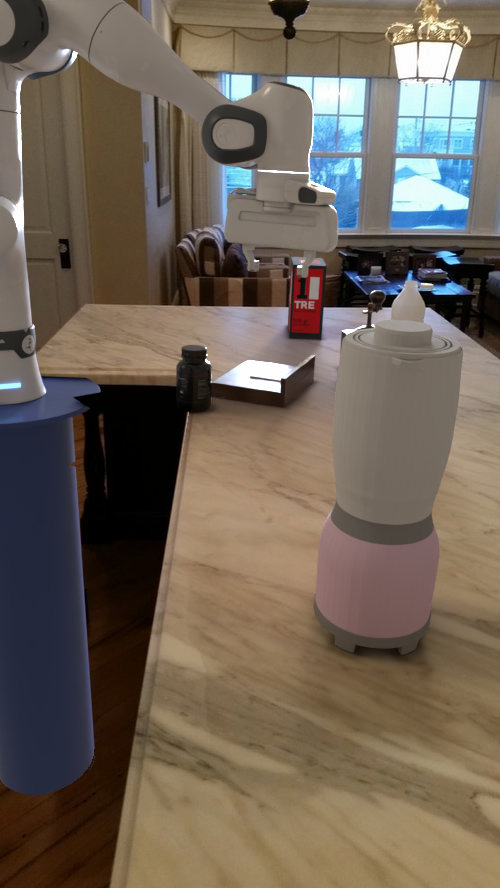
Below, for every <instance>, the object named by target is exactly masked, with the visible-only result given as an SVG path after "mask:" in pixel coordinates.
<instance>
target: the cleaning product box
mask: <svg viewBox="0 0 500 888" xmlns="http://www.w3.org/2000/svg"><path fill="white" fill-rule="evenodd" d="M306 258H307V257H304V256H290V270H289V271H290V273H289V289H288V290H289V292H288V293H289V294H288V311H287V312H288V313H287V332H288V338H289V339H293V340H294V339H296V340H322V336H323V322H324V308H325V295H326V279H327V264H326V262H325V261H324V259H323V257H315V259H314V260H313V262H312V263H311V265H310V266H309V268H308V276H307V277H305V278H303V277H297V275H296V274H297V267H298V266H302V265H303V263H304V262H305V260H306Z"/></svg>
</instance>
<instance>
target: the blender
mask: <svg viewBox="0 0 500 888" xmlns="http://www.w3.org/2000/svg"><path fill="white" fill-rule="evenodd" d="M374 326H375V327H374V328H369V329H361V330H356V331H352V332H350V333H348V334H347V335H346V336H345V337H344V339H343V341H342V346H341V345H340V348H341V354H340V353H339V361H338V362H339V363H338V369H337V376H336V383H335V390H334V391H335V393H334V405H333V417H332V418H333V419H332V431H331V432H332V436H331V437H332V440H331V442H332V444H331V445H332V464H333V473H334V483H335V502H334V504H333V507H332V509H331V511H330V512H329V514H328V515H327V517H326V518H325V520H324V523H323V525H322V528H321V532H320V535H319V542H318V554H317V567H316V581H315V583H316V584H315V586H316V587H315V593H314V598H313V600H314V601H313V612H314V613H313V614H314V616H315V618H316V620H317V621H318V623H319V624H320V625H321V626H322V627H323V628H324V629H325V630H326V631H327V632H328V633H330V634H331V635H333V636H334V645H335V646H336V647H338V648H339V649H341V650H344V651H346V652H348V653H351V654H353V653H355V651H356V649H357V648H356V647H357V646H360V647H365V648H369V649H370V648H371V649H396V648H397V652H398V653H399V654H400V655H402V656H403V655H407V654H410V653H412V652H414V651H415V650H417V647H418V644H419V641H420V640H421V639H422V638H423V637H424V636H425V635H426V634H427V632H428V631H429V628H430V624H431V618H432V604H433V599H434V593H435V588H436V581H437V575H438V568H439V561H440V539H439V536H438V531H437V529H436V526H435V523H434V519H433V508H434V505H435V500H436V497H437V495H438V493H439V490H440V486H441V483H442V480H443V477H444V473H445V470H446V467H447V464H448V461H449V457H450V453H451V449H452V445H453V440H454V434H455V433H454V432H455V426H456V420H457V414H458V408H459V400H460V391H461V377H462V366H463V357H464V348H463V347H462V346H461V344H460V343H459V341H457V340H456V339H454V338H452V337H449V336H447V335H443V334H440V333H435V332H434V331H433V327H432V326H431V325H430V324H427V323H421V322H416V321H408V320H390V319H384V320H383V319H382V320H378V321H377V322H376V323H375V324H374Z"/></svg>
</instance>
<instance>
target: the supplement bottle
mask: <svg viewBox="0 0 500 888" xmlns="http://www.w3.org/2000/svg"><path fill="white" fill-rule="evenodd" d="M207 351H208V349H207V346H204V345H200V344H188V345H187V344H186V345H183V346H182V347H181V354H180V357H181V359H180V360H179V361H178V362H177V364H176V367H175V378H176V379H175V380H176V381H175V382H176V383H175V384H176V385H175V386H176V388H175V389H176V390H175V391H176V392H175V393H176V394H175V395H176V398H175V399H176V407H177V409H178V410H180V411H182V412H185V413H191V414H192V413H193V414H194V413H203V412H206V411H209V410H210V409H211V407H212V397H213V396H212V382H213V366H212V364H211V362H210V361H208V360H207V358H208V354H207V353H208V352H207Z"/></svg>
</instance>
